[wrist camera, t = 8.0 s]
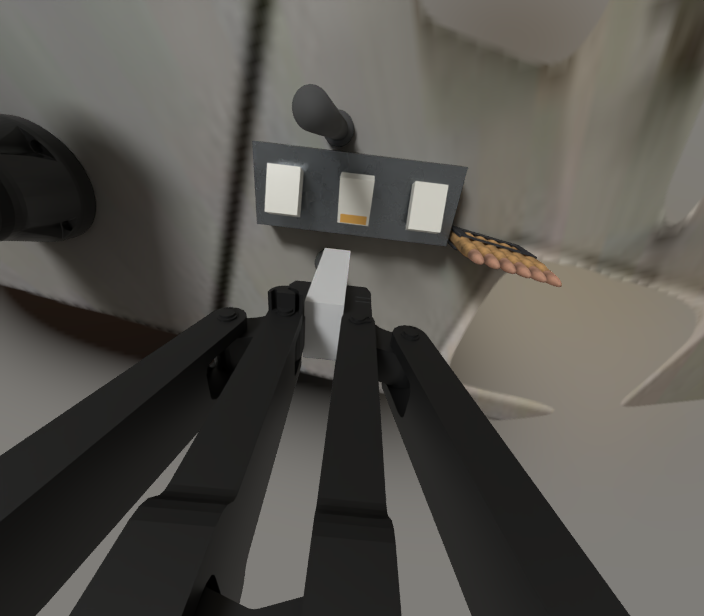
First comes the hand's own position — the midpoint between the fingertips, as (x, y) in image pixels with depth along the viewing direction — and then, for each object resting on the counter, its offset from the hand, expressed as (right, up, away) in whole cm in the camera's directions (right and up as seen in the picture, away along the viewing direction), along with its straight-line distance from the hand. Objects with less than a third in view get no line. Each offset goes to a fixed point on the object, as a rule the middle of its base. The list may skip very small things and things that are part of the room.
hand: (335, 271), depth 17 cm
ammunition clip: (+19, +7, +23) cm, 30 cm away
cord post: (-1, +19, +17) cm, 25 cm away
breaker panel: (+2, +13, +20) cm, 24 cm away
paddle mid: (+1, +10, +15) cm, 18 cm away
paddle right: (+9, +9, +15) cm, 20 cm away
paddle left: (-7, +11, +15) cm, 19 cm away
